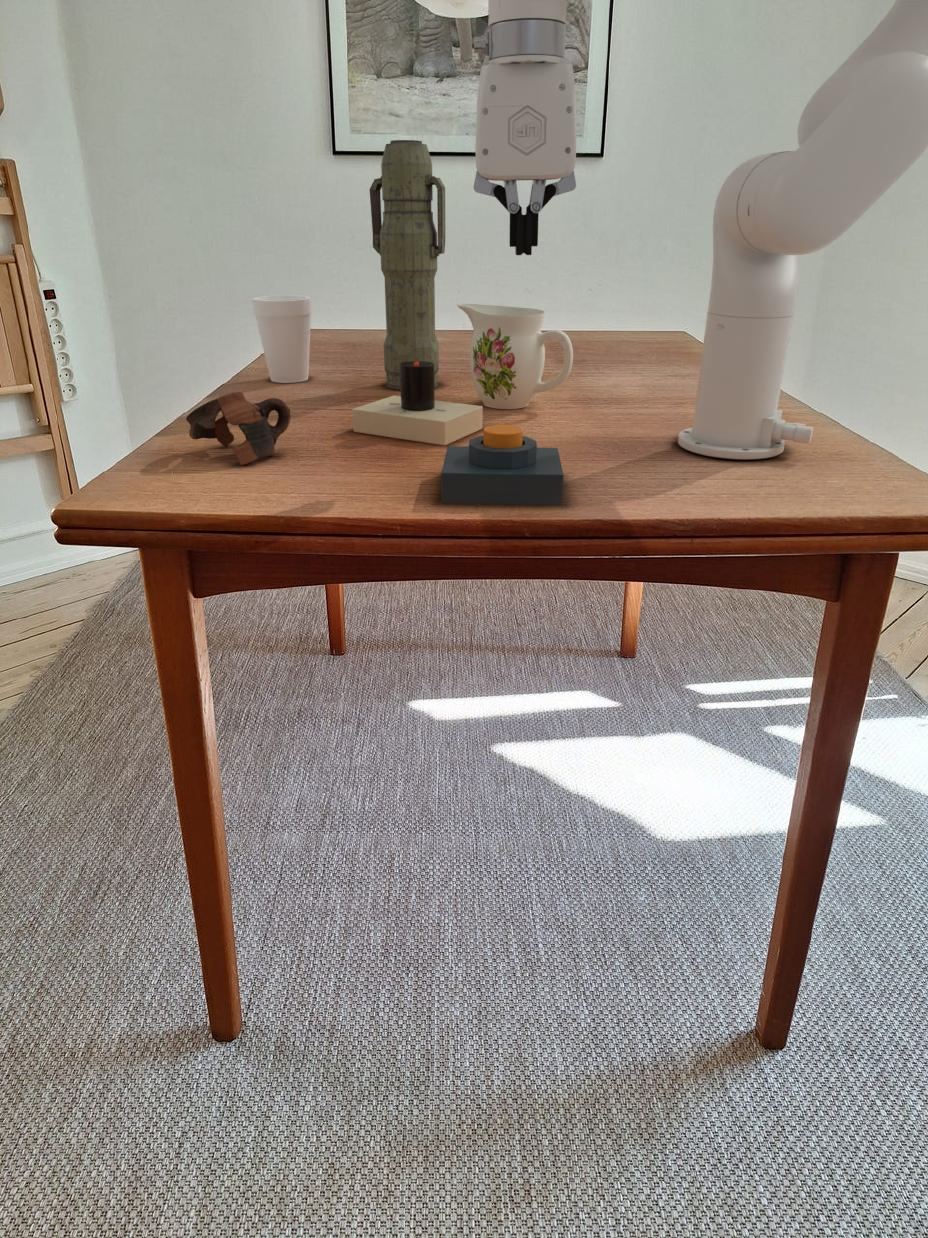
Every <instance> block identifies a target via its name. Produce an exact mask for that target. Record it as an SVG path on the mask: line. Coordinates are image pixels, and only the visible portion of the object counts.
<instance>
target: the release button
mask: <svg viewBox="0 0 928 1238" xmlns="http://www.w3.org/2000/svg"><path fill="white" fill-rule="evenodd" d="M482 436H483V445H484V446H486V447H491V448H516V447H521V446H522V438H523V436H524V430H523V428H522V427H520V426H517V425H511V424H493V425H488V426H485V427H484V428H483V435H482Z"/></svg>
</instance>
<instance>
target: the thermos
mask: <svg viewBox="0 0 928 1238" xmlns="http://www.w3.org/2000/svg"><path fill="white" fill-rule="evenodd" d="M380 165H381V166H380V168H381V169H380V171H381V176H380V177H378V178H374V179H373V181H372V183H371V184H370V187H369V200H370V202H369V203H370V214H371V216H370V217H371V229H372V230H371V231H372V248H373V249H374V250H375V251H376V253H377V254H379V256H380V269H381V273H382V274H383V277H384V298H385V299H384V300H385V301H384V303H385V327H386V328H385V329H386V336H385V339H384V343H383V357H384V358H383V364H384V371H385V376H386V377H385V378H386V379H385V380H386V381H385V387H386V388H387V389H391V390H395V391H401V387H400V363H403V362H408V361H427V362H432V363H434V389H436V388H438V387H439V381H438V380H439V379H438V373H439V371H440V356H439V355H440V352H439V351H440V350H439V341H438V339H437V335H436V300H435V299H436V297H435V295H436V294H435V293H436V292H435V291H436V289H435V285H436V284H435V277H436V274H437V271H438V257H440V255H442V254H445V250H446V187H445V184H444V183H443V181H442V179H441V178H440V177H436V176H435V175H433V162H432V158H431V155H430V151H429V148H428V145H427V144H426V143H423V141H422V140H415V139H397V140H396V139H395V140H393V139H392V140H390V142H389V143H385V146H384V151H383V154H382V159H381V163H380ZM433 186H435V188H436V192H437V194H436V197H437V199H436V202H437V204H436V205H437V207H436V209H437V229H436V225H435V222H434V212H433V211H432V201H433V200H434V197H433V196H434V195H433V193H434V191H433ZM381 194H382V195H381ZM381 197H382V200H381ZM382 201H383V211H382ZM382 217H383V218H382Z"/></svg>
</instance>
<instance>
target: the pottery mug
mask: <svg viewBox="0 0 928 1238" xmlns="http://www.w3.org/2000/svg"><path fill="white" fill-rule="evenodd" d="M273 411H274V412H276V413H277V420H276V423H275V425H272V424H270V422H269V417H270V413H271V412H273ZM219 413H221V414H222V416H221V417H220V418H217V416H218V415H219ZM291 417H292V414H291V409H290V408H289V406H288V405H287V402H285V401H284V400H282V399H280V398H276V397H271V398H267V399H265V400H262V401H260V402H254V403H253V402H252V401H249V400H247V399H246V397H245V395H244V393H243V392H242V391H236V392H230V393H228V394H224V395H222V396H219V397H216V398H215V399H214V398H213V399H211V400H209V401H208V402H205V403H203V404H202V405H200V406H198V407H197V408H195V409H194V410H192V411H191V412H190V413H188V415H187V416H186V418H185V419H186V422H187V423H188V424H189V426H190V429H189V434H188V435H189V437H190V438H191V439H192V440H199V439H207V440H210V439H211V440H212V439H213V440H214V439H216V440H217V442H218V443H219V444H221V445H222V446H224V447H228V446H229V445H230V444H232V443H233V442H235V441H234V440H235V435H234V434H233V433H232V432H231V430H230V428H229V425H228V424H230V425H232V426H237V427H238V428H239V430H240V431H241V432H242V434H243V435H244V437H245V440H244V441H243V442H242V443H240V444H237V445H236V446H233V447H232V452H233V454H234V455H235V456H236V459H237V461H238V463H239V465H240V466H244V465H246V464H247V465H248V464H249V463H253V462H254V461H256V460H258V459H263V458H267V457H270V456H275V455H276V449H275V445H276V444H277V440H278V439H279V437H280V436H281V435H282V434H284V433H285V432H286V431H287V430H288V427H289V425H290V422H291V419H292V418H291Z"/></svg>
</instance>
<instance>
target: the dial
mask: <svg viewBox="0 0 928 1238" xmlns="http://www.w3.org/2000/svg"><path fill="white" fill-rule="evenodd" d="M400 387H401V390H400V396H401V408H402V409H405V410H411V411H424V410H430V409H433V408H434V407H435V399H436V398H435V393H436V392H435V388H434V363H432V362H427V361H408V362H403V363H400Z"/></svg>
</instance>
